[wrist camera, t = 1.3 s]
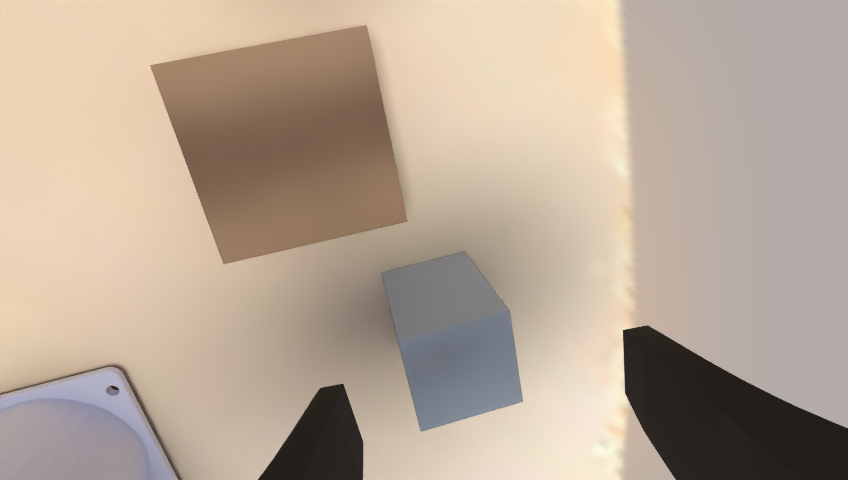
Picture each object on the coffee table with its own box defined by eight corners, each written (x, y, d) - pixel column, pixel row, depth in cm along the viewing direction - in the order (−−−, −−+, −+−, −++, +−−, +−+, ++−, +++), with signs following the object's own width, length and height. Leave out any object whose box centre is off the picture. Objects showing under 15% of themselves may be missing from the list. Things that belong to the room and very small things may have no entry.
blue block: (477, 323, 23) (523, 401, 17) (399, 344, 23) (420, 431, 17) (464, 251, 22) (509, 310, 16) (381, 272, 21) (398, 340, 16)
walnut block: (397, 202, 21) (407, 221, 18) (239, 238, 20) (223, 264, 17) (362, 33, 18) (366, 25, 15) (180, 68, 17) (149, 65, 15)
